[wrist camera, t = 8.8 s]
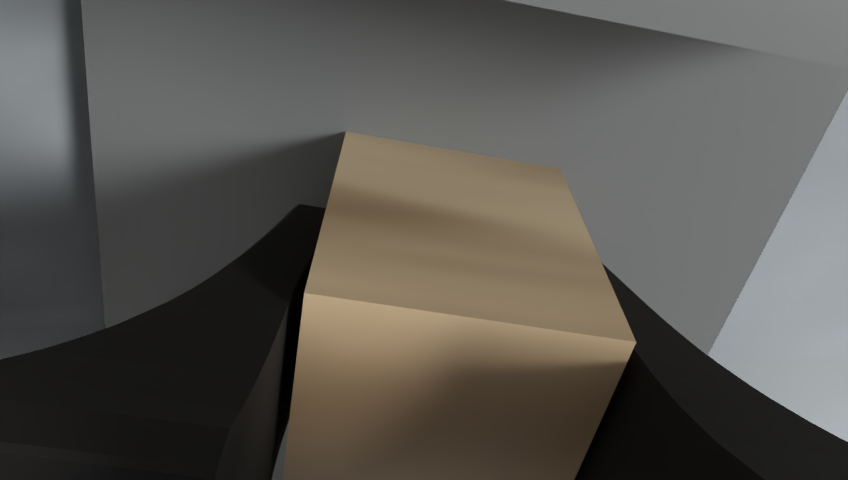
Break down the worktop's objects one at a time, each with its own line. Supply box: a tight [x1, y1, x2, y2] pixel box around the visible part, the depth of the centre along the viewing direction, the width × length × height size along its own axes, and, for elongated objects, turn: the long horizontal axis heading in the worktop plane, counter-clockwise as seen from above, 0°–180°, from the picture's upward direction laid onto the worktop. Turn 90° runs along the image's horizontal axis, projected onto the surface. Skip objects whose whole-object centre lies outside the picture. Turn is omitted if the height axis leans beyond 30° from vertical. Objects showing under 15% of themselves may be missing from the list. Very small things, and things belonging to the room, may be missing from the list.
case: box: [81, 0, 848, 480], centre depth 11 cm, size 13×13×6 cm
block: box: [282, 132, 636, 480], centre depth 11 cm, size 4×4×5 cm
